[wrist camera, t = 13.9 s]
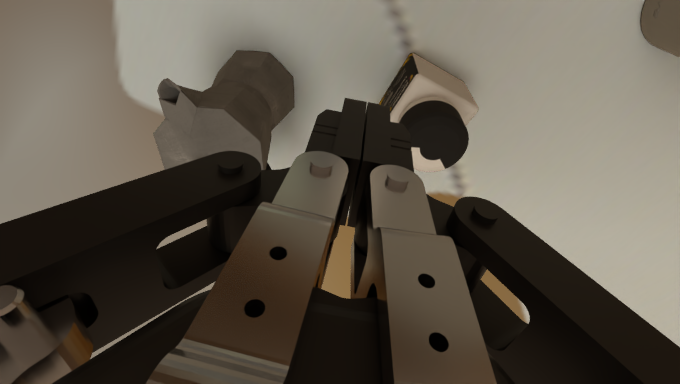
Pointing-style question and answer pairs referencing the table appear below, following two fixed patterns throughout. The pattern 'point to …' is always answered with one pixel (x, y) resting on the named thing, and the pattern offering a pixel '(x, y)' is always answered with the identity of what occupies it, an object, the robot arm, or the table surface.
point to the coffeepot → (225, 111)
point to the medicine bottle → (431, 112)
